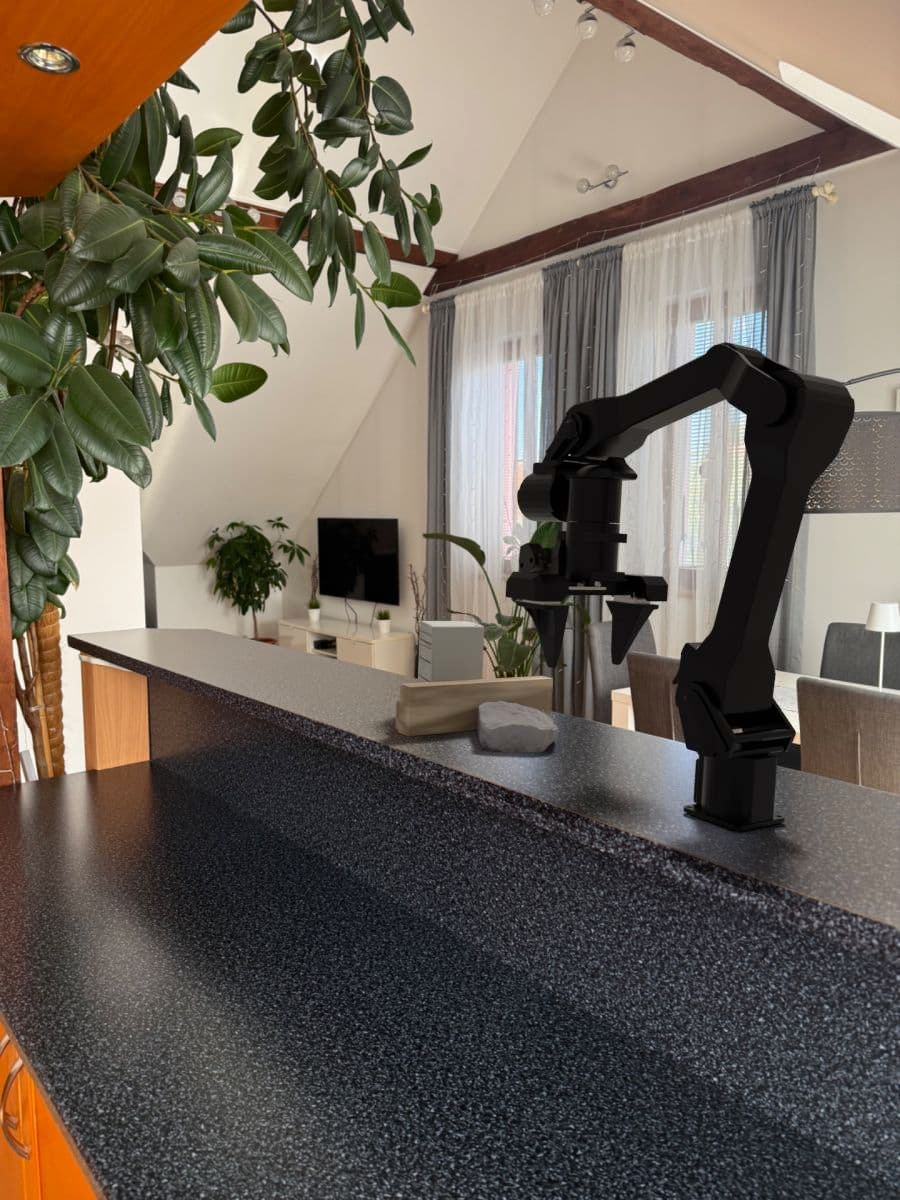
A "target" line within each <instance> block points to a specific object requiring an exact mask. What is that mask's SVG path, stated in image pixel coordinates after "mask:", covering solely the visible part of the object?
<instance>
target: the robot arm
mask: <svg viewBox="0 0 900 1200" xmlns="http://www.w3.org/2000/svg"><path fill="white" fill-rule="evenodd" d="M723 401H726V402H727V403H728V404H729V405H730V406H732V407H734V408H736V409H737V410H739V411H740V412H742V413H743V414H744V415H746V417H745V425H744V426H745V428H744V434H743V435H744V436H743V442H744V445H745V451H746V454H747V458H748V462H749V463H748V464H749V466H750V470H751V477H750V481H749V482H750V483H749V487H748V489H747V494H746V498H745V501H744V506H743V510H742V513H741V517H740V522H739V525H738V530H737V533H736V537H735V541H734V544H733V548H732V551H731V557H730V561H729V564H728V568H727V571H726V576H725V578H724V582H723V587H722V591H721V595H720V599H719V603H718V606H717V609H716V610H717V611H716V614H715V618H714V623H713V626H712V628H711V631H710V632H709V633H708V635H706V637H705V638H704V639H703V641H699V642H698V641H697V642H696V641H695V642H685V643H684V645H683V647H682V648H681V651H680V658H679V659H680V660H679V667H678V669H677V671H676V672H677V673H676V675H675V677H674V678H673V679H672V681H671V682H672V683H671V684H672V685H675V686H676V688H675V693H674V701H675V707H676V708H677V709H678V710H677V711H678V714H679V720H680V724H681V725H680V726H681V727H682V728H681V729H682V733H683V738H684V743H685V744H684V745H685V748H686V750H688V751H692V752H696V754H697V756H698V758H696V759H695V768H694V782H693V784H694V786H693V798H692V799H693V802H694V803H693V804H688V805H684V806H683V810H682V811H683V812H684V813H687V814H689V815H692V816H694V817H697V818H700V819H702V820H706V821H708V822H711V823H713V824H716V825H718V826H721V827H724V828H727V829H730V830H733V831H736V832H743V831H748V830H753V829H758V828H763V827H767V826H771V825H772V826H773V825H776V824H783V823H785V820H786V817H785V815H782V814H778V813H776V812H775V800H776V799H775V798H776V787H777V786H776V784H777V770H778V759H779V758H778V757H779V756H777V755H775V754H772V753H780V752H781V753H782V752H783V753H785V752H786V753H787V752H790V750H791V748H792V745H793V743H794V739H795V738H796V735H797V731H796V728H795V727H794V726H793V725H792V723H791V722H790V720H789V718H788V717H787V716H786V714H785V713H784V712H783V710H782V708H781V707H780V705H779V704H778V702H777V701H776V699H775V698H774V691H775V683H776V669H775V665H774V661H773V658H772V654H771V650H770V646H769V644H770V637H771V635H772V630H773V627H774V622H775V619H776V617H777V616H776V615H777V611H778V609H779V606H780V605H779V604H780V600H781V599H782V598H781V597H782V594H783V591H784V586H785V583H786V579H787V575H788V571H789V568H790V564H791V561H792V557H793V553H794V552H795V551H794V550H795V546H796V543H797V539H798V536H799V533H800V529H801V525H802V521H803V517H804V514H805V510H806V506H807V503H808V498H809V497H810V492H811V490H812V487H813V485H814V483H816V482H817V480H818V479H819V478H820V477H821V475H823V473H825V471H826V470H827V469H828V467H829V466H830V465H831V464H832V463H833V462H834V460H835V459H836V458H837V457H838V455H839V452H840V450H841V448H842V445H843V444H844V441H845V440H846V437H847V435H848V432H849V430H850V429H851V428H850V427H851V426H852V423H853V421H854V418H855V413H856V412H855V411H856V403H855V399H854V398H853V397H852V395H851V393H850V392H849V390H848V388H847V387H846V386H845V385H844V384H843V383H842V382H841V381H838V380H835V379H832V378H828V377H824V376H819V375H813V374H809V373H805V372H800V371H798V370H795V369H793V368H791V367H789V366H786V365H785V364H782V363H781V362H778V361H776V360H774V359H772V358H770V357H769V356H767V355H765V354H764V353H762V351H760V349H759V350H758V348H753V347H750V346H746V345H745V346H744V345H741V344H736V343H732V342H726V341H724V342H721V343H718V344H713V345H712V346H711V347H710V348H709V349H707V350H706V352H705V353H704V354H701V355H700V356H698V357H696V358H693V359H692V360H690V361H687V362H685V363H684V364H683V365H679V366H678V367H676V368H674V369H673V370H670V371H668V372H666V373H664V374H662V375H660V376H658V377H657V378H655V379H653V380H651V381H649V382H646V383H645V384H642V385H640V386H639V387H637V388H635V389H633V390H631V391H629V392H627V393H624V394H620V395H614V396H613V395H612V396H604V397H596V398H591V399H588V400H583V401H579V402H577V403H575V404H573V405H572V406H571V407H569V409H567V411H566V412H565V416H564V418H563V420H562V422H561V424H560V425H559V427H558V429H557V431H556V433H555V435H554V438H553V439H552V442H551V443H550V445H549V446H548V448H547V449H546V450H545V455H544V457H543V459H542V462H541V461H540V462H533V464H532V473H529V474H528V475H526V477H525V478H524V479H523V480H522V482H521V484H520V486H519V489H518V490H517V494H516V499H517V500H516V501H517V506H518V508H519V510H520V512H521V514H522V515H523V516H524V517H525V518H527V520H530V521H532V522H546V523H547V522H549V523H550V522H552V523H553V522H554V523H555V522H556V523H565V524H566V525H565V530H558V532H557V535H556V538H555V539H556V540H555V541H556V542H555V544H554V546H551V547H542V545H541V544H540V543H538V542H537V543H536V542H526V543H524V544H522V545H520V546H519V547H520V548H519V555H518V567H519V571H512V572H511V574H510V576H508V578H507V580H505V581H506V582H505V598H509V599H516V600H514V602H515V605H516V606H517V607H521V608H523V609H524V610H525V611H526V612H527V613H528V616H529V617H531V619H532V622H533V624H534V626H535V629H536V632H537V634H538V635H537V636H538V638H539V643H540V646H541V649H542V652H543V655H544V659H545V663H546V666H547V668H550V669H556V668H557V667H558V664H559V660H560V656H561V653H562V648H563V647H562V646H563V642H564V637H565V631H566V626H567V621H568V616H569V611H570V605H569V604H561V602H564V600H565V599H566V598H567V597H568V596H611V597H612V598H613V600H609V599H608V600H605V604H606V606H607V607H608V610H609V612H610V615H611V636H610V637H611V639H610V641H611V642H610V655H611V659H610V660H611V664H613V665H615V666H620V665H621V664H622V663H623V661H624V659H625V657H626V656H627V654H628V653H629V650H630V648H631V646H632V645H633V643H634V641H635V640H636V638H637V636H638V635H639V632H641V630H642V628H643V627H644V625H645V624H646V622H647V621H648V619H649V617H650V616H651V615H652V613H653V612H654V611H656V610H659V607H660V604H655V602H660V603H661V602H662V603H663V602H668V595H669V594H668V593H669V584H668V582H667V581H666V579H665V577H664V576H663V575H649V574H638V573H626V572H625V571H618V564H619V562H618V558H619V545H620V544H627V543H628V533H622V532H621V533H620V530H621V529H620V527H621V514H622V513H621V512H622V509H621V508H622V495H623V493H622V492H623V482H624V481H635V480H637V479H638V474H637V471H635V470H634V469H633V468H632V467H631V466H630V465H629V464H628V463H627V461H626V458H628V457H629V456H630V455H632V454H633V453H635V452H636V451H638V450H640V449H641V448H642V447H643V446H644V444H645V443H646V441H647V439H648V437H649V436H651V434H653V433H654V432H655V431H657V430H660V429H662V428H665V427H667V426H669V425H671V424H673V423H675V422H678V421H680V420H682V419H685V418H687V417H689V416H692V415H694V414H697V413H698V412H699V413H700V412H701V411H703V410H705V409H708V408H709V407H712V406H714V405H716V404H719V403H721V402H723ZM596 582H597V583H600V584H596ZM579 583H580V584H579ZM652 602H654V603H652ZM733 730H741V731H742V732H736V733H735V732H734V731H733Z"/></svg>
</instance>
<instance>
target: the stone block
mask: <svg viewBox="0 0 900 1200" xmlns="http://www.w3.org/2000/svg"><path fill="white" fill-rule="evenodd" d="M559 729H560V727H559V726H558V725H556V724H555V722H554V720H553V719H552V717H551V718H550V717H549V716H548V715H546V714H545V713H543V712H541V711H539V710H537V709H535V708H530V707H526V706H521V705H519V704H517V703H507V702H504V701H498V702H486V703H483V704H481V705H479V707H478V722H477V730H476V731H477V735H478V740H479V745H480V747H481V748H482V749H485V750H486V751H487V752H524V753H537V754H538V753H544V752H545V751H546V749H547V748H548V747H549V746H550V745H551V744H553V742H554V740H556V738H557V736H558V732H559Z"/></svg>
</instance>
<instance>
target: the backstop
mask: <svg viewBox="0 0 900 1200" xmlns="http://www.w3.org/2000/svg"><path fill="white" fill-rule="evenodd" d="M553 682H554V678H553V677H549V676H545V675H532V676H515V677H514V676H513V677H499V678H498V677H497V678H482V679H478V680H461V681H444V682H426V683H418V682H414V683H413V682H412V683H400V685H399V689H400V690H399V700H396V706H395V708H396V710H395V711H396V712H395V730H397V731H398V734H399V733H400V734H402V735H404V736H405V737H414V736H415V737H416V736H426V735H434V734H435V735H436V734H447V733H448V734H449V733H456V732H467V731H469V732H470V731H477V722H478V707H479V705H481V704H483V703H486V702H498V701H504V702H507V703H517V704H519V705H521V706H526V707H530V708H535V709H537V710H539V711H541V712H543V713H545V714H546V715H548V716H549V717H550V718H551V719H552V704H553V686H554V685H553V684H554V683H553ZM543 710H544V711H543Z"/></svg>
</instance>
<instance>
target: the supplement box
mask: <svg viewBox="0 0 900 1200" xmlns="http://www.w3.org/2000/svg"><path fill="white" fill-rule="evenodd" d="M418 640H419V641H418V644H419V645H418V672H417V683H426V682H444V681H461V680H478V679H483V667H484V647H485V646H484V645H485V641H484V640H485V627H484V626H483V625H480V624H477V623H475V622H471V621H467V620H466V621H465V620H462V621H461V620H460V621H459V620H420V621H419V639H418Z"/></svg>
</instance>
